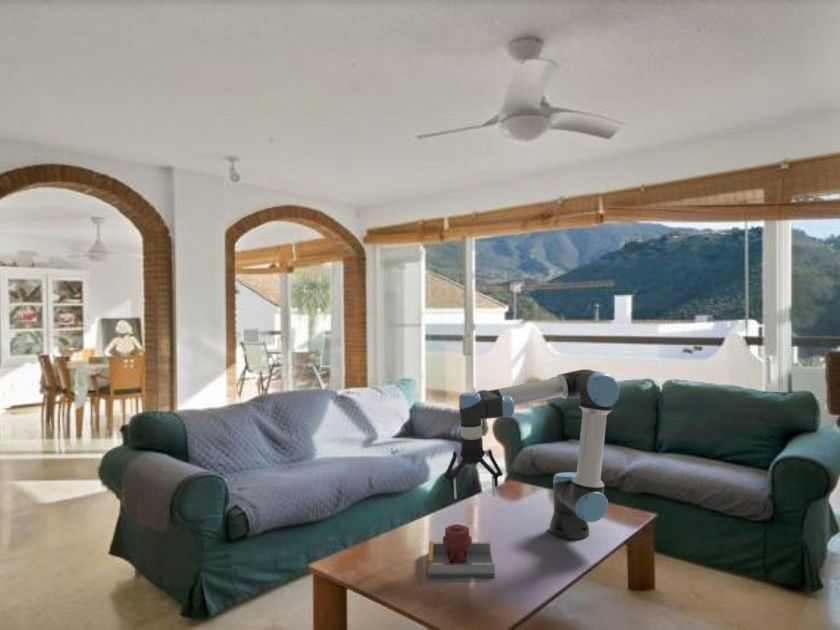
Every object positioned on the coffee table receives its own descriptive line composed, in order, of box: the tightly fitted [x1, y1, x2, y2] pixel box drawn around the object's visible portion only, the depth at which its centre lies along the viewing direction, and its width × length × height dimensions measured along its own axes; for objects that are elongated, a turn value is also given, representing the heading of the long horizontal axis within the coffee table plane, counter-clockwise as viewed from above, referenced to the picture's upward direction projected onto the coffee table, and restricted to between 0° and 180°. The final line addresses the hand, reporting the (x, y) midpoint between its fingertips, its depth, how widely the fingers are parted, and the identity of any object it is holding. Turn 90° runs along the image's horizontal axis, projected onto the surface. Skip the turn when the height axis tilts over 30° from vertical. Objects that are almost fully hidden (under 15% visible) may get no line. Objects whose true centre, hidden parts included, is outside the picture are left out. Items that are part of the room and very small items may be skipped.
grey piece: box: [427, 540, 496, 579], centre depth 197 cm, size 22×19×5 cm
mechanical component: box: [442, 523, 473, 563], centre depth 197 cm, size 12×10×10 cm
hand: (474, 496), depth 202 cm, fingers open, 13 cm apart
